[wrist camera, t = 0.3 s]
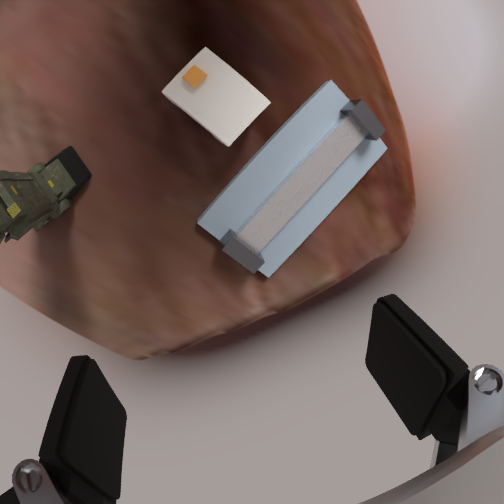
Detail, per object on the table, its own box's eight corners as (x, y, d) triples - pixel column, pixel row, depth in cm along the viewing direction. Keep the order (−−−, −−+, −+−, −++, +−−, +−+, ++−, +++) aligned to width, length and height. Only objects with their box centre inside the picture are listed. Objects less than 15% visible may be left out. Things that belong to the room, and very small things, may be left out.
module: (203, 62, 29) (205, 44, 22) (256, 107, 32) (273, 101, 25) (168, 99, 30) (160, 90, 23) (222, 143, 33) (229, 147, 26)
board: (326, 81, 32) (331, 80, 31) (381, 147, 37) (387, 148, 35) (197, 219, 36) (197, 223, 35) (266, 272, 41) (268, 278, 40)
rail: (349, 100, 32) (361, 99, 29) (373, 129, 34) (386, 130, 31) (219, 240, 36) (221, 250, 34) (249, 263, 38) (253, 274, 35)
